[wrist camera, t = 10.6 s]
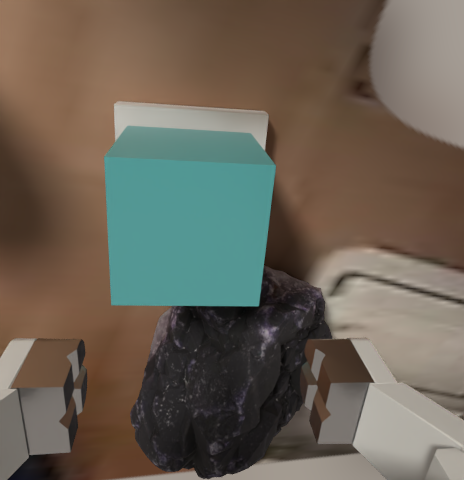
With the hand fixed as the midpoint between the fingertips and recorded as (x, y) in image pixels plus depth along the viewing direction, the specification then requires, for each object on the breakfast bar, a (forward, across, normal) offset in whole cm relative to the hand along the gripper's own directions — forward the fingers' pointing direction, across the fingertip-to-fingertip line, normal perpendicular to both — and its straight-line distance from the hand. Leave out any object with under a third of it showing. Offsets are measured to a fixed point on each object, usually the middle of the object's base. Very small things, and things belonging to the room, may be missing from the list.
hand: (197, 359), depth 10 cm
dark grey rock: (+16, -4, +12) cm, 21 cm away
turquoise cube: (+14, 0, 0) cm, 14 cm away
